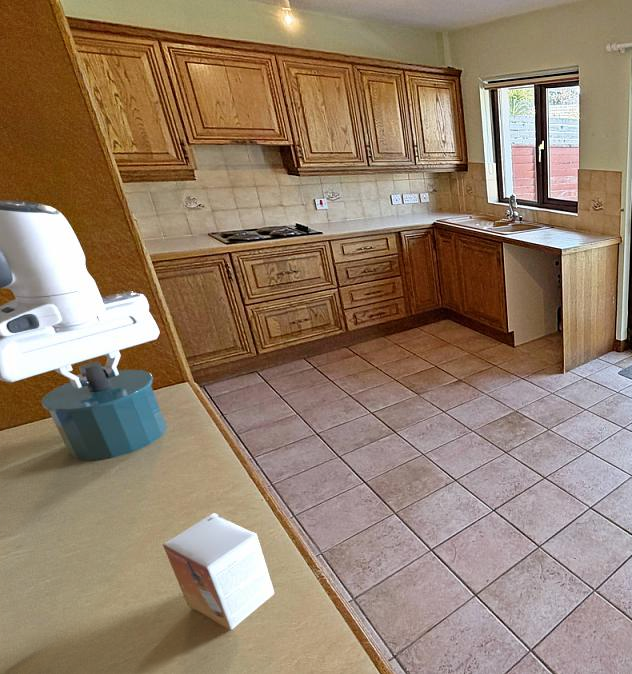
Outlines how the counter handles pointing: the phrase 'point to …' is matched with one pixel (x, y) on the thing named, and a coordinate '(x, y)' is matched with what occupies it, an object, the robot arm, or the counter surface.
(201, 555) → the small box
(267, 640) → the counter surface
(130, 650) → the counter surface
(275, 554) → the counter surface
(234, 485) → the counter surface
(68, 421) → the canister
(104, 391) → the lid
